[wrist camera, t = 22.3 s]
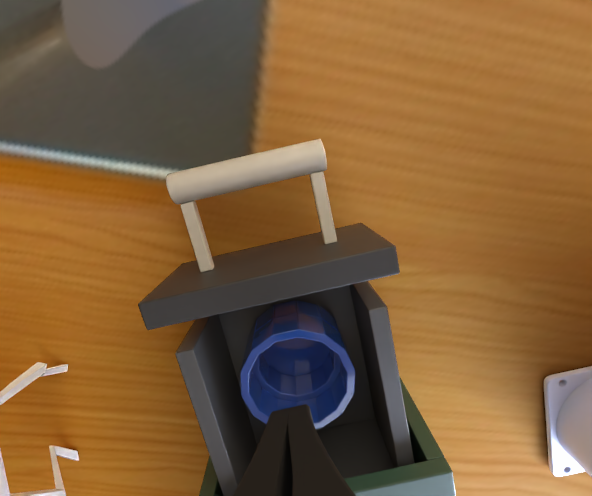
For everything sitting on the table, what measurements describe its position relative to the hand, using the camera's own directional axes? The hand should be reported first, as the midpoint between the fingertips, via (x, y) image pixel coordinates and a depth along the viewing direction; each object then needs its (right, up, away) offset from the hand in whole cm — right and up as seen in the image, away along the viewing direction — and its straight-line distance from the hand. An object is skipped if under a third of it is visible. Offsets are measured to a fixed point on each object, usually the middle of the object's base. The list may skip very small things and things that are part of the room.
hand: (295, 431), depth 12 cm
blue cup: (0, +1, +7) cm, 7 cm away
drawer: (-1, +3, +8) cm, 9 cm away
